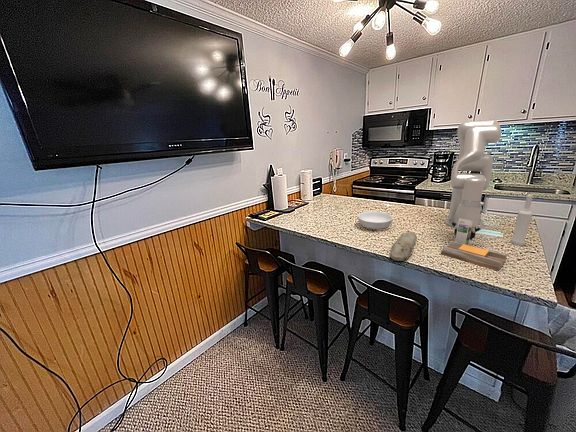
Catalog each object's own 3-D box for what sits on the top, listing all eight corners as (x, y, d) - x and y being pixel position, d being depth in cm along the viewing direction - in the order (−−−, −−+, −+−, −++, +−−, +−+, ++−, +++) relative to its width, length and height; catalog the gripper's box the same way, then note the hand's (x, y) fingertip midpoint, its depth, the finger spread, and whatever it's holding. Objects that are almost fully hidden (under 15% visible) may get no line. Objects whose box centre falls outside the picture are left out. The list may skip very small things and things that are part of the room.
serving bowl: (350, 225, 161) (351, 215, 159) (374, 218, 170) (374, 209, 168) (374, 235, 144) (375, 224, 142) (399, 227, 152) (400, 217, 150)
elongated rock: (420, 239, 138) (400, 237, 144) (420, 230, 137) (401, 228, 143) (409, 264, 111) (386, 260, 116) (409, 253, 109) (386, 249, 115)
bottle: (510, 243, 125) (522, 196, 117) (511, 240, 128) (523, 193, 120) (523, 246, 121) (537, 197, 113) (524, 243, 124) (538, 195, 116)
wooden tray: (450, 246, 126) (451, 239, 125) (505, 260, 110) (507, 253, 108) (440, 254, 119) (441, 247, 118) (498, 271, 102) (500, 263, 101)
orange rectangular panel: (462, 245, 119) (463, 244, 119) (488, 252, 111) (489, 250, 111) (457, 250, 115) (458, 248, 115) (484, 257, 107) (484, 255, 107)
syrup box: (453, 244, 127) (458, 218, 122) (458, 241, 130) (462, 215, 125) (467, 248, 122) (472, 220, 118) (470, 244, 126) (476, 217, 121)
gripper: (494, 204, 115) (486, 239, 121) (452, 198, 127) (447, 230, 133) (490, 208, 110) (482, 244, 116) (447, 201, 123) (442, 234, 129)
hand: (463, 236), depth 125 cm, fingers closed on syrup box, 5 cm apart
